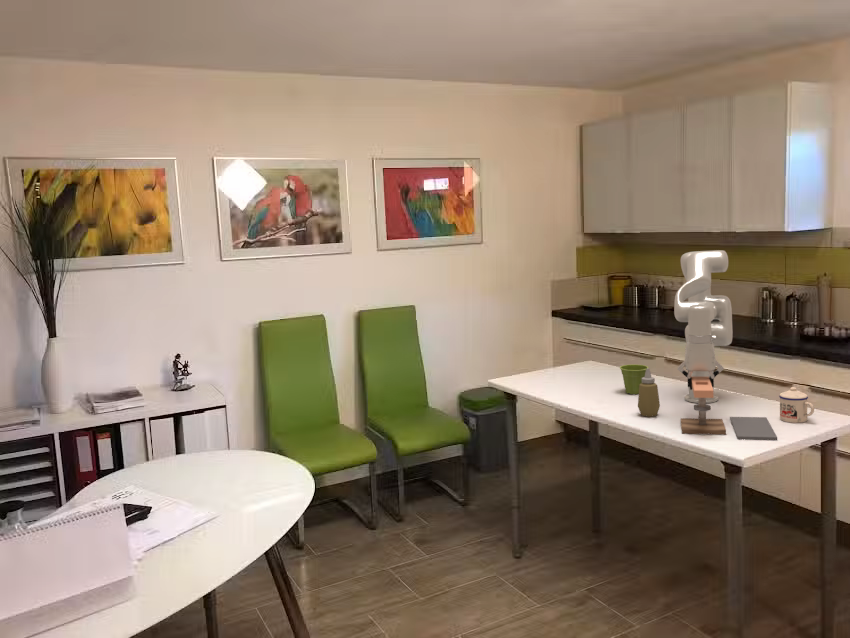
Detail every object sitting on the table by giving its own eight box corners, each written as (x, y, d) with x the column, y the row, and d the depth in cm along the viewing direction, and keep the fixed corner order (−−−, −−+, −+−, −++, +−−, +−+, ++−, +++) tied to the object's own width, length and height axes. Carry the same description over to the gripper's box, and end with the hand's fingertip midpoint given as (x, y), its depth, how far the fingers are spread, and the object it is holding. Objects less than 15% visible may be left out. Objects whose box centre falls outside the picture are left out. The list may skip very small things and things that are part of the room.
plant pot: (620, 396, 300) (620, 370, 299) (620, 389, 312) (619, 364, 310) (650, 396, 298) (649, 369, 296) (648, 389, 309) (647, 364, 307)
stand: (680, 422, 258) (679, 386, 256) (722, 423, 254) (721, 386, 252) (682, 433, 245) (681, 395, 243) (726, 434, 240) (725, 395, 239)
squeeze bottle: (661, 417, 265) (660, 370, 263) (639, 418, 267) (637, 371, 264) (658, 412, 273) (657, 366, 271) (637, 412, 275) (635, 366, 272)
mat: (729, 419, 257) (729, 416, 257) (766, 419, 254) (766, 417, 254) (737, 439, 235) (737, 436, 235) (777, 440, 231) (777, 437, 231)
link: (691, 383, 258) (691, 376, 258) (709, 383, 256) (708, 376, 256) (694, 397, 239) (694, 390, 239) (713, 397, 237) (713, 390, 237)
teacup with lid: (773, 419, 254) (773, 387, 252) (789, 414, 258) (789, 383, 256) (805, 426, 243) (805, 393, 242) (821, 421, 248) (821, 389, 246)
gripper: (725, 337, 253) (725, 386, 255) (673, 337, 258) (674, 386, 261) (727, 341, 246) (727, 391, 248) (674, 341, 251) (675, 391, 254)
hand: (700, 388), depth 254 cm, fingers closed on link, 5 cm apart
